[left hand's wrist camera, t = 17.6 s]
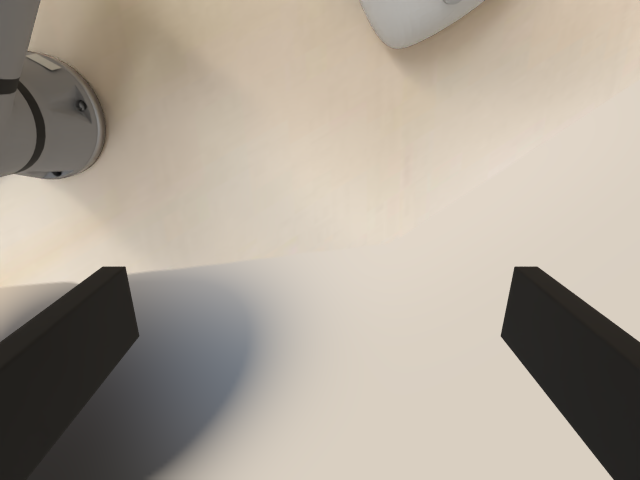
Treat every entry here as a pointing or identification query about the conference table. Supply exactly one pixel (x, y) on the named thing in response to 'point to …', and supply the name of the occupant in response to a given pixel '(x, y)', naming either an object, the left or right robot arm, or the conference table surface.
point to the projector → (413, 18)
